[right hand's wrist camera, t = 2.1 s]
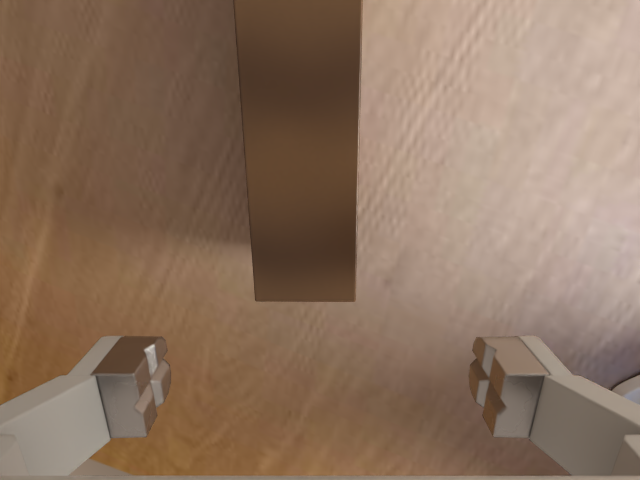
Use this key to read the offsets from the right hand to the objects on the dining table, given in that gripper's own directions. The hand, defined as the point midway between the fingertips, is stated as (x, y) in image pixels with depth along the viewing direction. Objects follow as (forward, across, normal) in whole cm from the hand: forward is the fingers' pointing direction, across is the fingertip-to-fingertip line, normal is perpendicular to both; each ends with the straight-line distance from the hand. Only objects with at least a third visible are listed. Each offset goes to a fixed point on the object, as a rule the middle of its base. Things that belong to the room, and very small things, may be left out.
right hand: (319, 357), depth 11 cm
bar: (+19, +1, -7) cm, 20 cm away
